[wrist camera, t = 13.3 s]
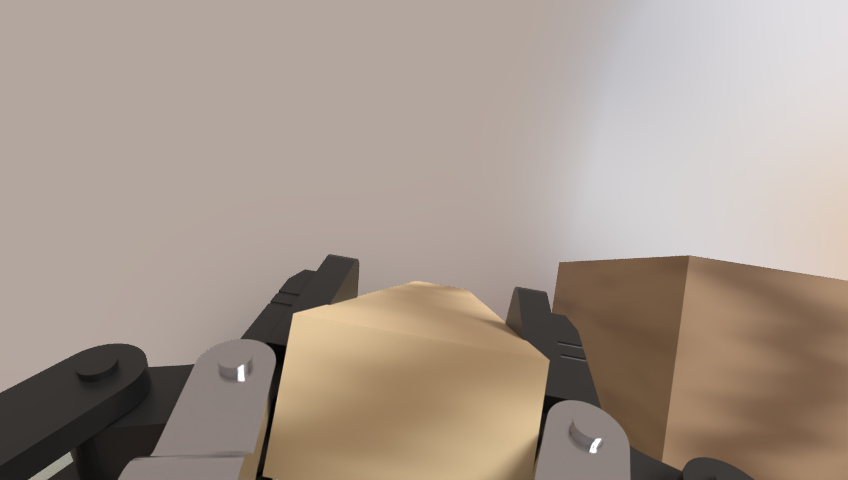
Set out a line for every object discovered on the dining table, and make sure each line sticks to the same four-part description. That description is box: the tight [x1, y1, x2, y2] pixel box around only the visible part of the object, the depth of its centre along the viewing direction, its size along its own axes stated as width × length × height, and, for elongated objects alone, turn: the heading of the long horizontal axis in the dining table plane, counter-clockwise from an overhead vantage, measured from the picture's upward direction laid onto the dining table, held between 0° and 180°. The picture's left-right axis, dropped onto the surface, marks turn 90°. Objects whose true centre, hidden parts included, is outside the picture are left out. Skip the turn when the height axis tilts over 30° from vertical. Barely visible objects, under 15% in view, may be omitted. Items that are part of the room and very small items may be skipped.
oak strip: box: [263, 281, 550, 480], centre depth 21 cm, size 4×28×2 cm, turn 177°
